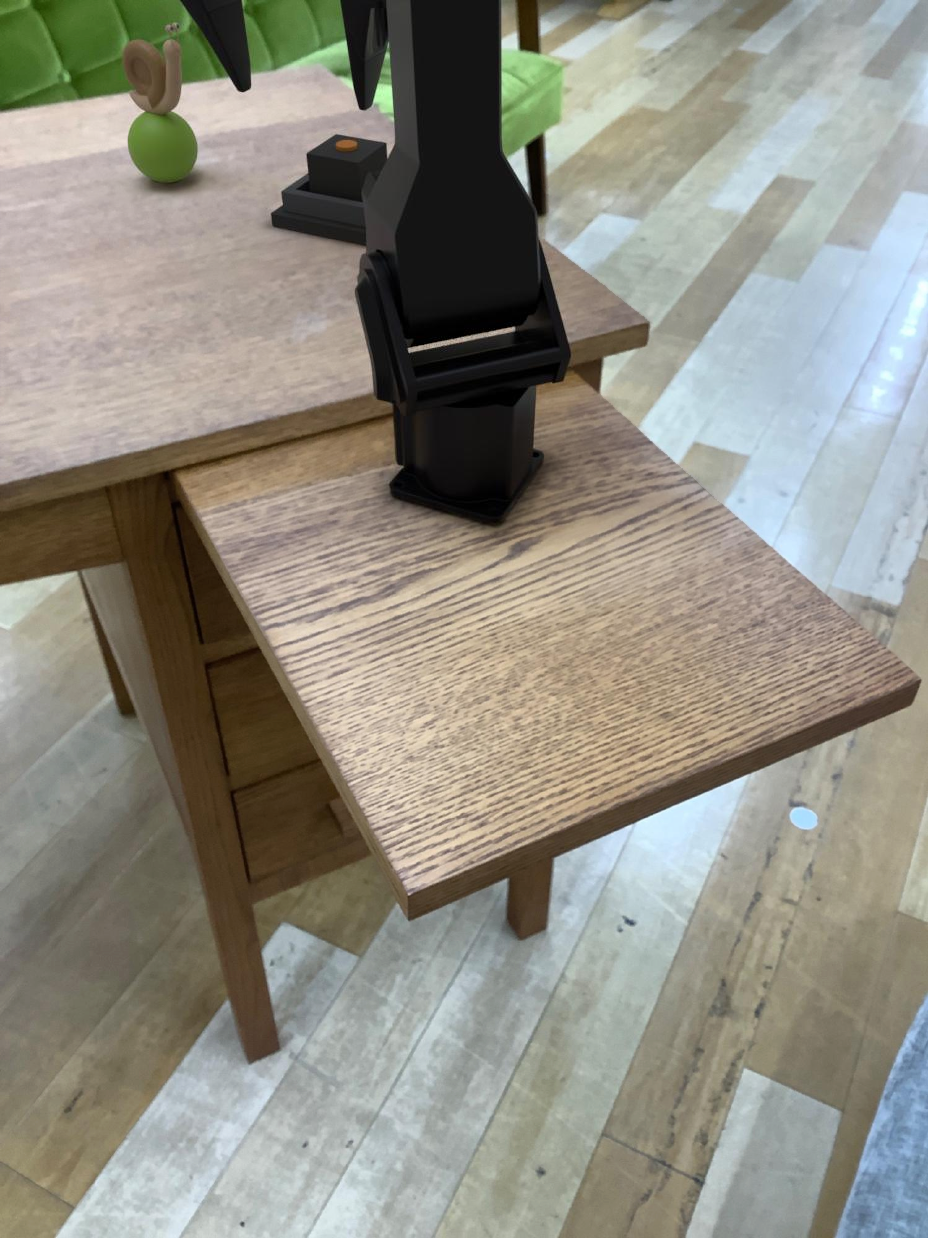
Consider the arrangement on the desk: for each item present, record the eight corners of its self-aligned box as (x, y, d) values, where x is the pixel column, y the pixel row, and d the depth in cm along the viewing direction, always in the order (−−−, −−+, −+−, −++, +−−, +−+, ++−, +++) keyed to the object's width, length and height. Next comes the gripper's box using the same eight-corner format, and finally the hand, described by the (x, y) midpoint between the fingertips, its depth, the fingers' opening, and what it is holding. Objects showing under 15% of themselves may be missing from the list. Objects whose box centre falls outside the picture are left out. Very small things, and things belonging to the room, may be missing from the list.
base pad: (430, 202, 82) (429, 169, 80) (376, 247, 76) (373, 213, 75) (331, 183, 85) (328, 151, 83) (272, 225, 79) (267, 192, 77)
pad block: (389, 195, 81) (386, 138, 78) (362, 217, 78) (357, 158, 75) (340, 186, 82) (335, 129, 79) (311, 206, 79) (305, 148, 76)
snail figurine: (180, 200, 82) (148, 32, 74) (121, 184, 85) (84, 19, 76) (225, 178, 86) (199, 15, 77) (168, 162, 88) (136, 3, 80)
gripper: (487, -216, 59) (486, 82, 70) (216, -225, 65) (253, 50, 76) (395, -196, 52) (409, 133, 62) (99, -208, 58) (158, 94, 68)
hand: (304, 99), depth 67 cm, fingers open, 9 cm apart
